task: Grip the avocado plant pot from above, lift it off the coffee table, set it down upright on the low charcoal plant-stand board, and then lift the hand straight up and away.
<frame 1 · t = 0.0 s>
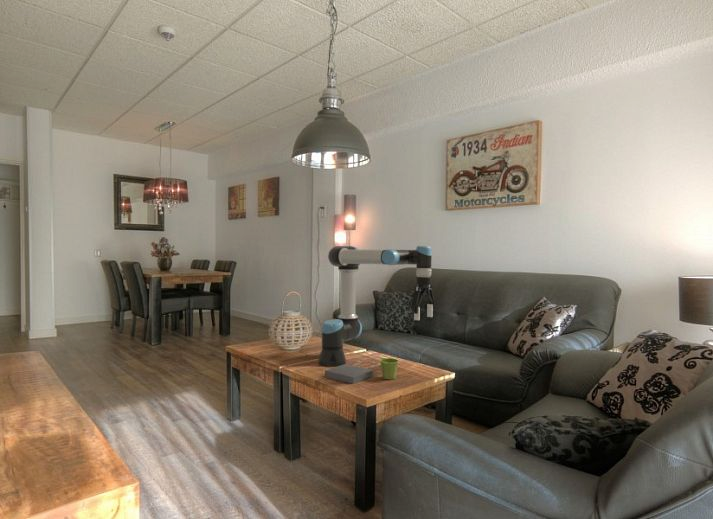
hand: (423, 318, 215), 28 cm above the table, tool pointing down, fingers open, 13 cm apart
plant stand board: (349, 376, 210), on the table
plant pot: (389, 378, 207), on the table
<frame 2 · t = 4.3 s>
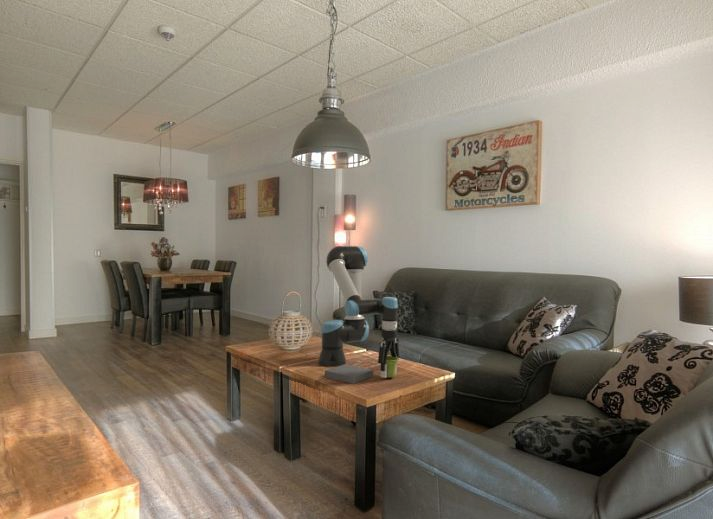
hand: (388, 375, 208), 1 cm above the table, tool pointing down, fingers closed on plant pot, 8 cm apart
plant pot: (388, 376, 208), point 1 cm above the table, touching gripper
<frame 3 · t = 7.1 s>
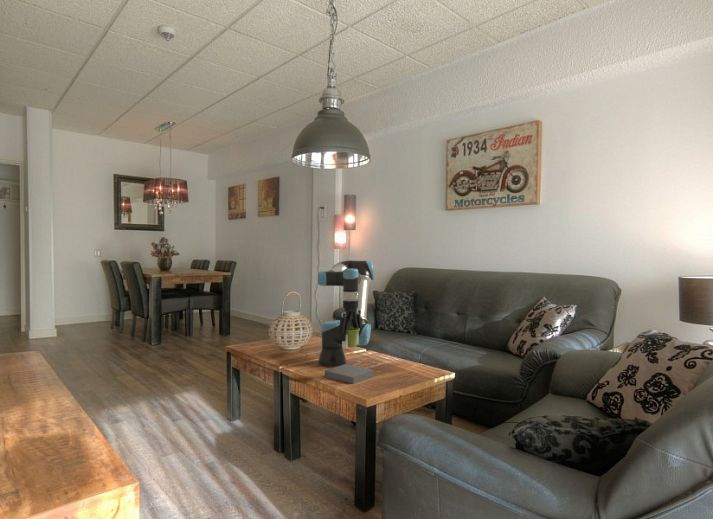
hand: (350, 345, 210), 15 cm above the table, tool pointing down, fingers closed on plant pot, 8 cm apart
plant pot: (350, 346, 210), point 15 cm above the table, touching gripper
when the fingers open (4 cm above the table, at t = 10.2 s): plant pot stays where it is, resting on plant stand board.
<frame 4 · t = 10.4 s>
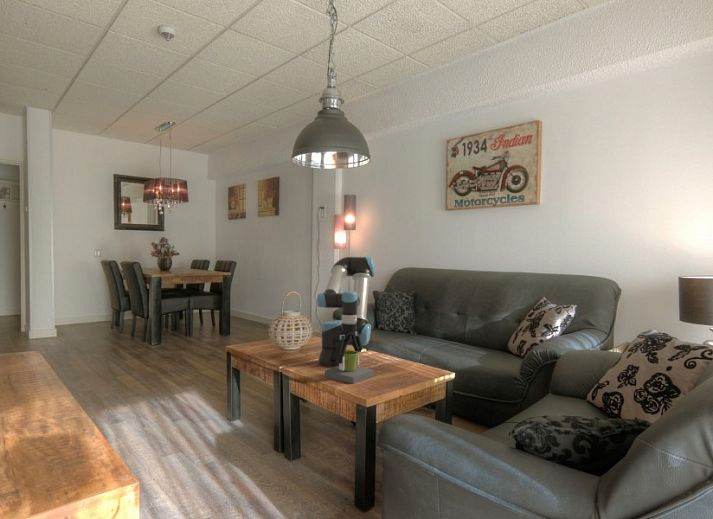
hand: (349, 367, 210), 4 cm above the table, tool pointing down, fingers open, 11 cm apart
plant pot: (349, 370, 210), point 3 cm above the table, touching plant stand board
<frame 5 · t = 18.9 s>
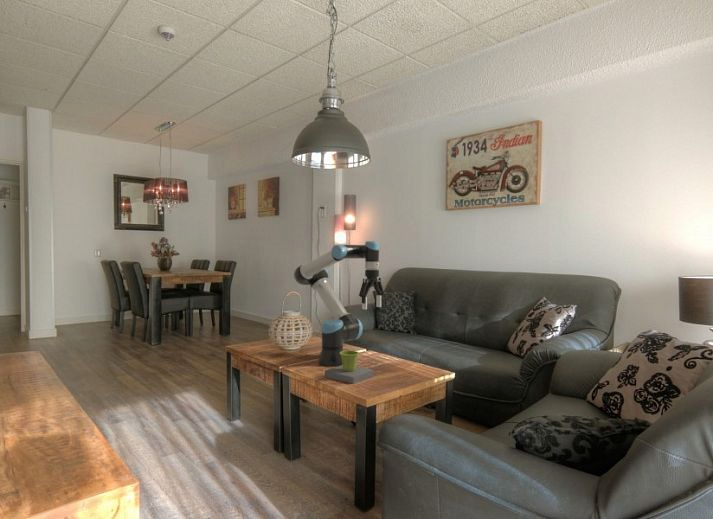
hand: (371, 308, 233), 31 cm above the table, tool pointing down, fingers open, 13 cm apart
nothing on the table moved.
at the end: plant pot inside the target area on the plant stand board (0.4 cm from its centre), point 2.8 cm above the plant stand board's base; plant pot tilted 0°; the gripper is holding nothing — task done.
